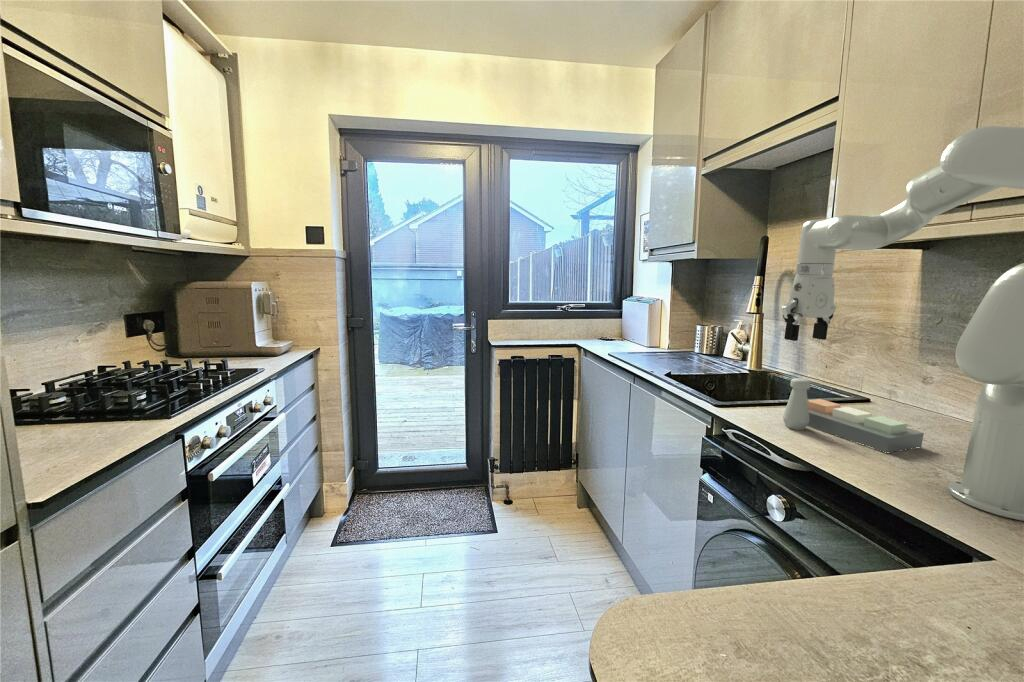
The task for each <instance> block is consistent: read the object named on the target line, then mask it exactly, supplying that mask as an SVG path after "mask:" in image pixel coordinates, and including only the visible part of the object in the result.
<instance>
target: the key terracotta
mask: <svg viewBox="0 0 1024 682" xmlns="http://www.w3.org/2000/svg"><path fill="white" fill-rule="evenodd" d="M834 408H842V406H841V404H839V403H836V402H832V401H828V400H826V399H822V398H817V399H808V409H810V410H813V411H816V412H820V413H823V414H831V413H833V409H834Z"/></svg>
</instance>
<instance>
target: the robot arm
mask: <svg viewBox="0 0 1024 682" xmlns="http://www.w3.org/2000/svg"><path fill="white" fill-rule="evenodd" d="M1002 187H1003V188H1008V189H1016V190H1017V189H1018V190H1024V127H1022V126H1021V127H1020V126H1019V127H1017V126H998V125H987V126H981V127H976V128H973V129H971V130H968V131H967V132H964V133H962V134H961V135H959V136H958V137H955V138H954V139H953V140H952V141H951V142H950V143H949V144H948V145H947V147H946V148H945V149H944V151H943V152H942V154H941V157H940V160H939V164H938V165H936V166H935V167H933V168H931V169H928V170H927V171H925V172H923V173H921V174H920V175H917V176H915V177H914V178H912V179H911V180H910V181H909V182H908V183H907V185H906V187H905V195H906V199H905V200H904V201H902V202H901V203H900V204H897V205H896V206H894V207H892V208H890V209H888V210H886V211H884V212H882V213H880V214H877V215H875V216H871V215H870V216H869V215H854V214H853V215H852V214H841V215H837V216H834V217H830V218H826V219H825V218H823V219H812V220H811V219H810V220H807V221H806V222H804V223H803V224H802V227H801V230H800V237H799V238H800V239H799V247H798V255H797V262H796V269H795V270H796V271H795V272H796V273H795V277H794V279H793V281H792V282H793V283H792V286H791V289H790V294H789V299H788V300H789V301H788V302H787V303H786V304H784V305H782V306H781V312H782V318H783V320H784V324H785V332H784V340H787V341H792V342H793V341H794V342H797V341H798V340H799V334H800V333H799V332H800V327H801V326H800V324H799V323H800V321H801V320H802V319H803V318H807V319H808V318H809V319H810V318H811V319H812V318H814V320H815V321H816V322H814V324H813V331H812V338H813V339H816V340H822V341H823V340H824V341H825V340H827V336H828V328H829V325H830V324H831V320H832V319H833V317H834V314H835V311H836V309H837V306H836V305H835V303H834V302H835V280H834V279H835V278H834V277H833V274H834V267H835V262H836V261H835V259H836V253H837V250H860V251H870V250H871V251H872V250H877V249H880V248H883V247H886V246H889V245H891V244H893V243H896V242H898V241H901V240H902V239H904V238H907V237H909V236H911V235H913V234H915V233H917V232H918V231H919V230H921V229H923V228H924V227H925V226H927V225H928V224H930V222H931V221H932V220H933V219H934V218H936V217H938V216H939V215H941V214H943V213H945V212H947V211H950V210H952V209H955V208H956V207H959V206H961V205H963V204H966V203H968V202H969V201H973V200H974V199H976V198H979V197H981V196H984V195H986V194H988V193H991V192H993V191H996V190H997V189H999V188H1002ZM954 355H955V361H956V365H957V366H958V368H959V369H960V370H961V372H963V374H965V376H967V377H968V378H970V379H972V380H974V381H977V382H979V383H982V387H981V389H980V391H979V394H978V397H977V400H976V406H975V411H974V415H973V420H972V426H971V429H970V435H969V439H968V444H967V445H968V446H967V452H966V455H965V462H964V466H963V471H962V476H961V477H962V478H961V479H959V480H953V481H950V482H949V483H948V485H947V491H948V493H949V494H950V495H951V496H953V498H955V499H957V500H959V501H960V502H963V503H965V504H966V505H969V506H971V507H972V508H973V507H974V508H976V509H979V510H981V511H984V512H987V513H989V514H993V515H996V516H1000V517H1004V518H1006V519H1007V518H1008V519H1011V520H1017V521H1022V522H1024V262H1023V263H1019V264H1017V265H1015V266H1014V267H1011V268H1009V269H1008V270H1007V271H1005V272H1003V273H1002V275H1000V276H999V277H998V278H997V279H996V280H995V281H994V282H993V283H992V285H991V286H990V288H988V291H987V292H986V293H985V295H984V297H983V299H982V301H981V302H980V304H979V306H978V307H977V309H976V310H975V312H974V313H973V315H972V317H971V319H970V320H969V322H968V324H967V326H966V327H965V328H964V331H963V332H962V334H961V336H960V337H959V339H958V342H957V345H956V348H955V354H954Z"/></svg>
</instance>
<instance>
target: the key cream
mask: <svg viewBox="0 0 1024 682" xmlns="http://www.w3.org/2000/svg"><path fill="white" fill-rule="evenodd" d="M872 415H873V414H872V413H871V412H867V411H864V410H862V409H861V410H860V409H859V408H858V409H857V408H854V407H850V406H845V407H844V406H843V407H841V408H834V409H833V413H832V417H835V418H839V419H842V420H845V421H848V422H851V423H855V424H858V423H864V420H865V418H869V417H873V416H872Z"/></svg>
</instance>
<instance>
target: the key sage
mask: <svg viewBox="0 0 1024 682" xmlns="http://www.w3.org/2000/svg"><path fill="white" fill-rule="evenodd" d="M864 427H867V428H871V429H874V430H877V431H880V432H883V433H887V434H890V435H892V434H899V433H906V429H907V428H908V423H907V422H903V421H899V420H896V419H892V418H889V417H886V416H882V415H877V416H872V417H869V418H865V420H864Z"/></svg>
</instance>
